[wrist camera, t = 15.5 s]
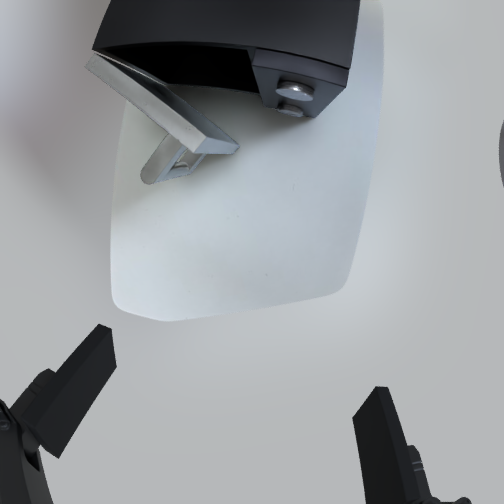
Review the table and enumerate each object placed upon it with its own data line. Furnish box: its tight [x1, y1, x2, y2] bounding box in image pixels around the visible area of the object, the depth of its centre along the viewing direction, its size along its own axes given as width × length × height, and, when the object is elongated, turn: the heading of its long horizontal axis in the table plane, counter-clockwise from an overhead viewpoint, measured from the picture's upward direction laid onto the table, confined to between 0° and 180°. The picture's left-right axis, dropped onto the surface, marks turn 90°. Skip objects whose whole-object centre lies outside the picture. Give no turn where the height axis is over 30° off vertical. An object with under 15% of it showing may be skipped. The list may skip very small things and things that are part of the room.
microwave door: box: [85, 53, 240, 185], centre depth 26 cm, size 7×15×18 cm, turn 48°
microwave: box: [92, 0, 360, 118], centre depth 21 cm, size 22×22×18 cm
